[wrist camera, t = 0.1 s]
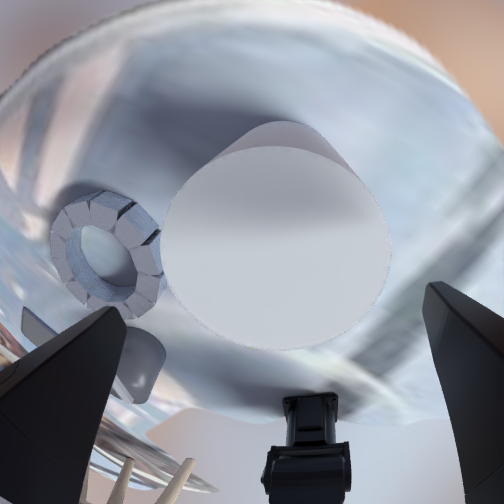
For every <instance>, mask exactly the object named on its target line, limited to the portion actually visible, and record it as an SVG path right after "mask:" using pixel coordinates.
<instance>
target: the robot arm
mask: <svg viewBox="0 0 504 504" xmlns="http://www.w3.org/2000/svg"><path fill="white" fill-rule="evenodd" d="M422 313H423V318H424V322H425V326H426V330H427V334H428V339H429V343H430V347H431V352H432V357H433V361H434V364H435V368H436V371H437V374H438V377H439V381H440V384H441V387H442V391H443V394H444V398H445V401H446V405H447V409H448V413H449V416H450V420H451V424H452V429H453V433H454V437H455V442H456V447H457V452H458V456H459V462H460V467H461V473H462V479H463V486H464V493H465V503H466V504H504V318H503V317H501V316H499V315H498V314H496V313H495V312H493V311H491V310H490V309H488V308H487V307H485V306H483V305H482V304H480V303H478V302H477V301H475V300H473V299H472V298H470V297H468V296H467V295H465V294H463V293H462V292H460V291H458V290H457V289H455V288H453V287H451V286H450V285H448V284H446V283H444V282H443V281H434V282H429V283H428V284H427V286H426V290H425V296H424V301H423V307H422ZM126 335H127V326H126V324H125V322H124V320H123V318H122V316H121V314H120V312H119V310H118V309H117V308H116V307H115V306H104V307H102V308H100V309H99V310H97V311H95V312H94V313H92V314H91V315H89V316H87V317H86V318H84V319H82V320H81V321H79V322H77V323H76V324H74V325H73V326H71V327H69V328H68V329H66V330H65V331H63V332H61V333H60V334H58V335H57V336H55V337H53V338H52V339H50V340H49V341H47V342H45V343H44V344H42V345H41V346H39V347H38V348H36V349H34V350H33V351H31V352H30V353H28V354H27V355H25V356H23V357H22V358H21V359H19V360H17V361H16V362H14V363H13V364H11V365H9V366H8V367H6V368H5V369H3V370H1V371H0V504H79V500H80V496H81V492H82V488H83V482H84V479H85V475H86V471H87V467H88V463H89V460H90V456H91V452H92V449H93V445H94V442H95V438H96V435H97V432H98V428H99V425H100V422H101V419H102V416H103V412H104V409H105V406H106V403H107V400H108V397H109V394H110V391H111V388H112V385H113V382H114V380H115V377H116V373H117V370H118V366H119V362H120V358H121V354H122V350H123V347H124V343H125V339H126ZM283 407H284V412H285V417H286V421H287V437H286V446H271V450H270V451H269V452H268V455H267V462H266V466H265V468H264V471H263V474H262V477H261V483H262V484H263V485H264V487H265V492H266V494H267V495H269V503H270V504H343V503H344V499H345V492H350V490H351V461H350V450H349V442H344V443H336V436H335V422H337V412H338V395H336V394H332V395H321V396H307V397H289V398H284V399H283Z"/></svg>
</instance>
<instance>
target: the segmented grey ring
mask: <svg viewBox="0 0 504 504" xmlns="http://www.w3.org/2000/svg"><path fill="white" fill-rule="evenodd" d="M132 203H133V200H131V199H129V198H126V197H123V196H120V195H118V194H115V193H112V192H109V191H106V192H104V193H103V191H99V192H95V193H92V194H89V195H85V196H82V197H80V198H78V199H77V200H75V201H73V202H72V203H70V204H69V205H67V206H65V207H64V208H63V209H62V210H61V211H60V213H59V215H58V216H57V218H56V220H55V221H54V223H53V225H52V227H51V228H52V229H53V230H51V231H50V246H51V255H52V256H54V258H53V259H52V260H53V263H54V265H55V267H56V269H57V271H58V273H59V276H60V278H61V280H62V282H68V283H67V285H66V287H67V288H68V289H69V290H70V291H71V292H72V294H73V295H74V296H75V297H76V298H77V299H78V300H79V301H80V302H81V303H82V304H83V305H84V304H85V303H86V302H87V308H89V309H92V310H94V311H97V310H99V309H100V308H102V307H104V306H115V307H116V308H117V309H118V310H119V312H120V314H121V316H122V318H123V319H135V318H136V316H137V317H138V318H139V317H140V316H142V315H143V314H144V313H146V312H147V311H148V310H150V309H151V308H152V307H154V305H155V304H156V302H157V300H158V299H159V297H160V295H161V294H162V292H163V290H164V289H165V287H166V284H167V279H166V276H165V273H164V270H163V266H162V261H161V255H160V237H161V231H158V232H154V231H155V230H156V229H157V228H158V227H159V226H158V225H157V224H156V223H155V221H154V220H153V219H152V218H151V217H150V216H149V215H148V214H147V213H146V212H145V211H144V210H143V209H142V208H141V206H140V205H139V204H138V203H137V204H136V205H134V206H133V207H132ZM87 225H94V226H96V227H99V228H101V229H104V230H106V231H108V232H111V233H112V234H113V235H114V236H115V237H116V238H117V239H118V240H119V241H120V242H121V243H122V244H123V245H124V246H125V247H126V248H127V249H128V250H129V252H130V254H131V257H132V260H133V262H134V265H135V267H136V270H137V272H138V276H137V283H136V286H127V287H118V286H115V285H113V284H111V283H109V282H106V281H104V280H102V279H101V278H100V277H99V276H98V275H97V274H96V273H95V272H94V271H93V270H92V269H91V268H90V267H89V266H88V264H87V261H86V259H85V257H84V254H83V252H82V250H81V229H82V228H83V226H87Z"/></svg>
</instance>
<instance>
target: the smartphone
mask: <svg viewBox="0 0 504 504" xmlns="http://www.w3.org/2000/svg"><path fill="white" fill-rule="evenodd" d="M21 331H22V333H23V334H24V336H26V337H27V338H28V339H29V340H30V341H31V342H32V343H33V344H35V345H36V346H37V347H39V346H41V345H42V344H44V343H45V342H47V341H49V340H50V339H52V338H53V337H55V336H57V335H58V334H57V333H56V332H55V331H54V330H52V329H51V328H50V327H49V326H48V325H46V324H45V323H44V322H43V321H42V320H40V319H39V318H38V317H37V316H36V315H35V314H34V313H32V312H31V311H30V310H29V309H28V308H26V307H24V308H23V315H22V328H21Z"/></svg>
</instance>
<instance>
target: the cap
mask: <svg viewBox="0 0 504 504" xmlns="http://www.w3.org/2000/svg"><path fill="white" fill-rule="evenodd" d="M165 358H166V351H165V349H164V347H163V345H162V344H161V342H160V341H159V340H158V339H157V338H156V337H154V336H153V335H151V334H150V333H148V332H146V331H144V330H142V329H138V328H133V327H128V328H127V335H126V339H125V343H124V347H123V350H122V354H121V358H120V362H119V366H118V370H117V373H116V377H115V380H114V382H113V385H112V388H111V391H110V394H112V395H113V396H115V397H117V398H119V399H121V400H123V401H124V403H128V404H142V403H145V402H146V401H147V400H148V398H149V395H150V393H151V391H152V388H153V386H154V384H155V381H156V379H157V377H158V374H159V372H160V370H161V367H162V365H163V363H164V361H165Z"/></svg>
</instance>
